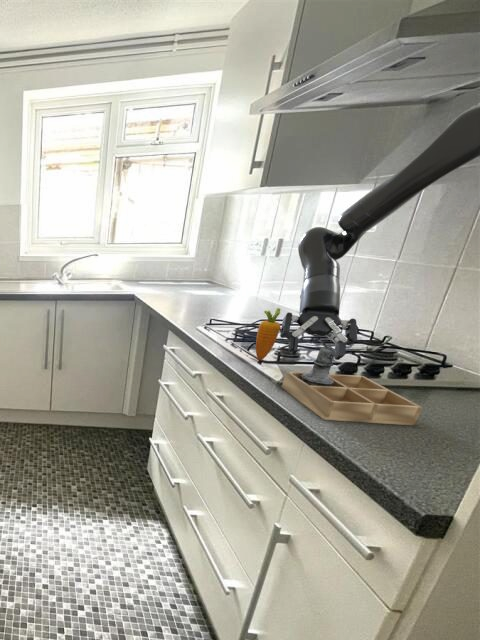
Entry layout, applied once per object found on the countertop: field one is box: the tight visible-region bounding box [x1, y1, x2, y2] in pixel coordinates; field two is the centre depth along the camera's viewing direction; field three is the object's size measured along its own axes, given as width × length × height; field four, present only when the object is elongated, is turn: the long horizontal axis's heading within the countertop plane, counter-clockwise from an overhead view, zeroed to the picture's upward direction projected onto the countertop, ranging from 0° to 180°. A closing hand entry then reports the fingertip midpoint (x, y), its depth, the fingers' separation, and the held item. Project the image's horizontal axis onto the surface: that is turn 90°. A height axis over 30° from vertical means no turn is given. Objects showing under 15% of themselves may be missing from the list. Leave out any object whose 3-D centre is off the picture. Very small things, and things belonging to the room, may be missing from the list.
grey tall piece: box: [302, 342, 336, 386], centre depth 94 cm, size 6×6×12 cm
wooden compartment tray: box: [281, 371, 424, 426], centre depth 92 cm, size 16×16×4 cm
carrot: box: [255, 307, 281, 362], centre depth 115 cm, size 5×5×15 cm
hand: (315, 355), depth 98 cm, fingers open, 8 cm apart
